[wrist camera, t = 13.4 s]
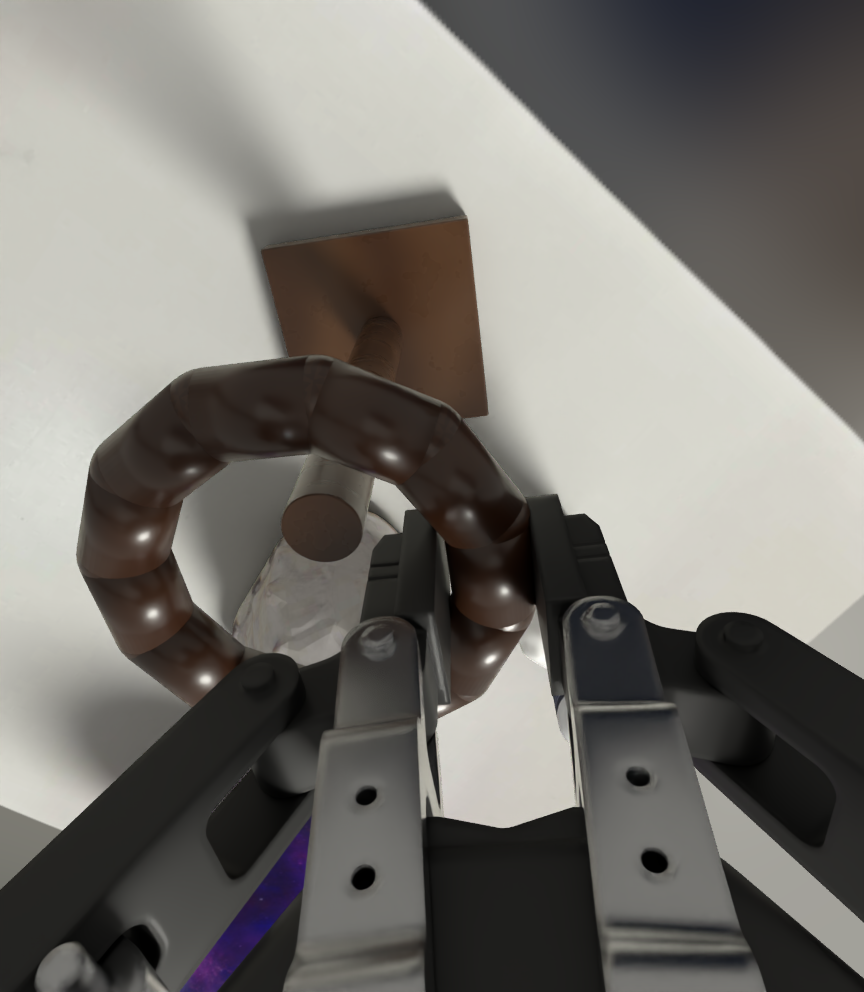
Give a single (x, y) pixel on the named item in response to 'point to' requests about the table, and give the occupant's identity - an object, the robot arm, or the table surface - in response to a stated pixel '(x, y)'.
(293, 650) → the seashell
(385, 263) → the stand
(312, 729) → the robot arm
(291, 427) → the ring
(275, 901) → the decorative orb
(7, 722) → the table surface
